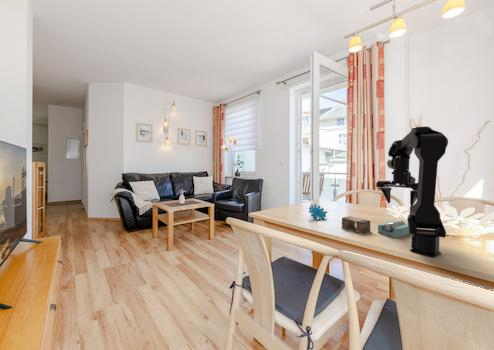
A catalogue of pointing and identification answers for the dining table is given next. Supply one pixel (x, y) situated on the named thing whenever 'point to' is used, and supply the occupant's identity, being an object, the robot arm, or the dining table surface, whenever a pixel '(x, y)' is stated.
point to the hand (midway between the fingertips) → (400, 204)
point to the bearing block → (360, 224)
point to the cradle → (396, 232)
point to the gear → (317, 212)
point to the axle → (393, 225)
